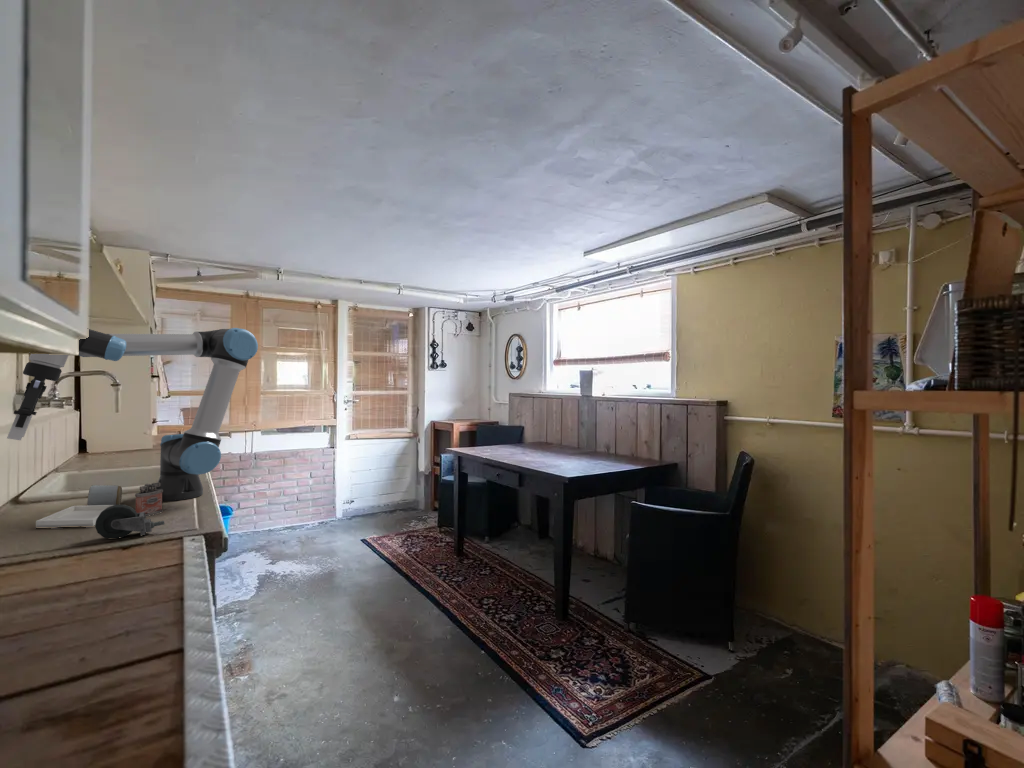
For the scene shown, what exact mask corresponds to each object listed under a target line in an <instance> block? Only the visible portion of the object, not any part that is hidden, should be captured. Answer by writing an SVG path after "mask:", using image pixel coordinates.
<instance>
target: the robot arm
mask: <svg viewBox="0 0 1024 768" xmlns="http://www.w3.org/2000/svg"><path fill="white" fill-rule="evenodd" d="M88 329H89V337H88V338H86V339H80V340H79V355H78V356H79V357H82V358H100V359H103V360H106V361H107V360H108V361H113V362H118V361H121V359H122V358H123V357H139V356H141V357H142V356H143V357H144V356H186V355H187V356H188V355H192V356H194V357H195V358H210V360H211V361H212V363H213V366H212V369H211V372H210V374H209V377H208V380H207V383H206V386H205V389H204V391H203V394H202V397H201V399H200V402H199V405H198V408H197V410H196V414H195V417H194V419H193V422H192V425H191V427H190V428H189V429H187V430H185V431H184V432H183V433H182V434H181V433H179V434H178V433H177V434H166V435H165V434H164V435H163V436H162V437H161V439H160V440H161V441H160V444H159V446H160V463H159V464H160V465H159V466H160V467H159V468H160V469H159V472H160V473H159V477H158V481H157V482H160V486H159V487H156V489H163V492H162V502H164V501H167V502H168V501H170V502H171V501H183V500H188V499H189V500H190V499H193V498H197V497H200V496H202V495H203V494H204V487H203V483H202V481H201V478H200V476H199V475H205V474H207V473H210V472H211V471H213V470H214V469H216V467H218V465H219V463H220V461H221V459H222V452H221V449H220V445H221V441H222V438H221V436H220V433H219V432H220V430H221V427H222V424H223V421H224V418H225V415H226V412H227V410H228V407H229V403H230V400H231V398H232V395H233V392H234V389H235V386H236V384H237V381H238V377H239V374H240V372H241V371H243V370H245V369H246V368H247V365H248V362H249V360H251V359H252V358H253V357H254V356H255V355H256V354H257V352H258V350H259V344H258V340H257V338H256V337H255V335H254V334H253V333H252V332H250V331H249V330H247V329H245V328H239V327H231V328H220V329H213V330H206V331H194V332H193V333H191V334H189V333H188V334H187V333H186V334H185V333H181V334H180V333H175V334H174V333H104V332H100V331H98V330H95V329H91V328H88ZM68 358H69V355H49V354H32V353H31V354H30V355H29V356H28V359H29V361H28V362H26V364H25V366H24V368H23V371H22V374H23V375H25V376H29V377H33V379H31V380H30V382H27V383H26V386H25V390H24V393H23V396H24V398H23V400H22V401H21V405H20V407H19V408H18V410H16V409H15V410H14V412H13V414H14V415H15V418H14V420H13V423H12V425H11V428H10V430H9V432H8V434H7V436H6V439H9V440H15V441H22V439H23V438H24V437H25V435H26V432H27V429H28V427H29V425H30V423H31V420H32V418H33V416H36V415H37V413H38V412H37V411H36V410H35V408H36V406H37V405H38V401H39V400H40V399H42V397H43V394H44V393H45V392H46V389H47V385H46V382H45V381H46V380H48V381H53V382H58V381H59V379H60V377H61V374H62V369H61V368H64V367H65V365H66V362H67V361H68Z"/></svg>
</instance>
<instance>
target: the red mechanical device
mask: <svg viewBox="0 0 1024 768" xmlns="http://www.w3.org/2000/svg"><path fill="white" fill-rule="evenodd" d="M159 486H160V482H158V481H156V482H153V483H145V484H144V485H141V486H139V491H140V492H137V493H134V496H135V497H134V498H135V511H136V512H137V513H140V512H145V516H148V517H150V516H149V515H152V516H154V515H153V514H155V515H158V514H157V513H159V514H161V513H160V512H162V513H163V500H162V492H163V489H156V487H159Z"/></svg>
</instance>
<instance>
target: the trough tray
mask: <svg viewBox="0 0 1024 768" xmlns="http://www.w3.org/2000/svg"><path fill="white" fill-rule="evenodd" d="M110 506H113V505H88V504H87V505H72V506H70V507H67V508H64V509H62V510H59V511H57V512H53V513H52V514H49V515H48V516H44V517H43V518H40V519H37V520H36V521H35V528H36V527H58V526H59V527H61V526H94V525H95V524H96V519H97V518H98V516H99V515H100V513H101V512H102V511H103V510H105V509H106V508H108V507H110ZM94 527H95V526H94Z"/></svg>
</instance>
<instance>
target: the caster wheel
mask: <svg viewBox="0 0 1024 768" xmlns="http://www.w3.org/2000/svg"><path fill="white" fill-rule="evenodd" d="M162 525H165V520H160V521H156V522H155V521H152V519H151V518H148V519H147V518H146V516H145V512H140V513H137V512H136V509H135V508H133V507H132V506H129V505H126V504H120V505H113V506H110V507H108V508H106V509H105V510H103V511H102V512H101V513H100V515H99V516H98V518H97V519H96V524H95V526H94V528H95V530H96V532H97V534H99V535H100V537H102V538H105V539H108V538H119V537H122V538H124V536H125V537H127V536H128V535H129V534H131V533H133V532H138V533H140V536H141V535H145V536H146V532H147V533H151V532H152V531H153V529H154V528H155V527H158V526H162ZM119 539H120V538H119Z"/></svg>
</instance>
